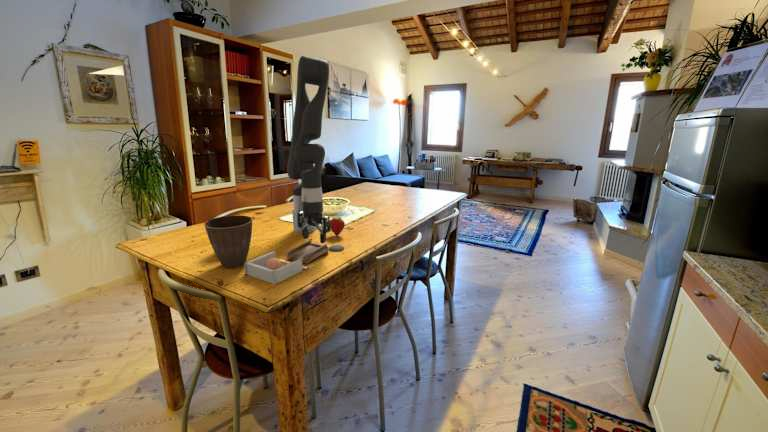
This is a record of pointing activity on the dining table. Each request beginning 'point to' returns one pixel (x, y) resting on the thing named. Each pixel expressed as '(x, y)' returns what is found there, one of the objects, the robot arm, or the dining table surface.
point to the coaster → (336, 248)
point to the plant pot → (230, 239)
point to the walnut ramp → (307, 251)
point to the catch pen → (273, 276)
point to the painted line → (290, 262)
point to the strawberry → (337, 225)
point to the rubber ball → (273, 264)
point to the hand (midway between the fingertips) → (314, 240)
